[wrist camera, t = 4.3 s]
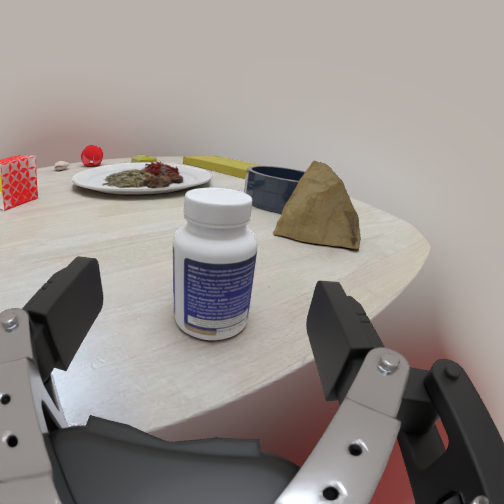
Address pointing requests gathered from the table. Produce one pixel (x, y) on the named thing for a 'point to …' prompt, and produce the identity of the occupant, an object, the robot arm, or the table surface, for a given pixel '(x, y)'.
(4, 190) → the red patterned cube
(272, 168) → the pot
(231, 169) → the flat olive board
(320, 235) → the rock
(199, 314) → the pill bottle
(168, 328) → the table surface
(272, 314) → the table surface
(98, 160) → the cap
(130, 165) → the plated food
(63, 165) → the macaroon
